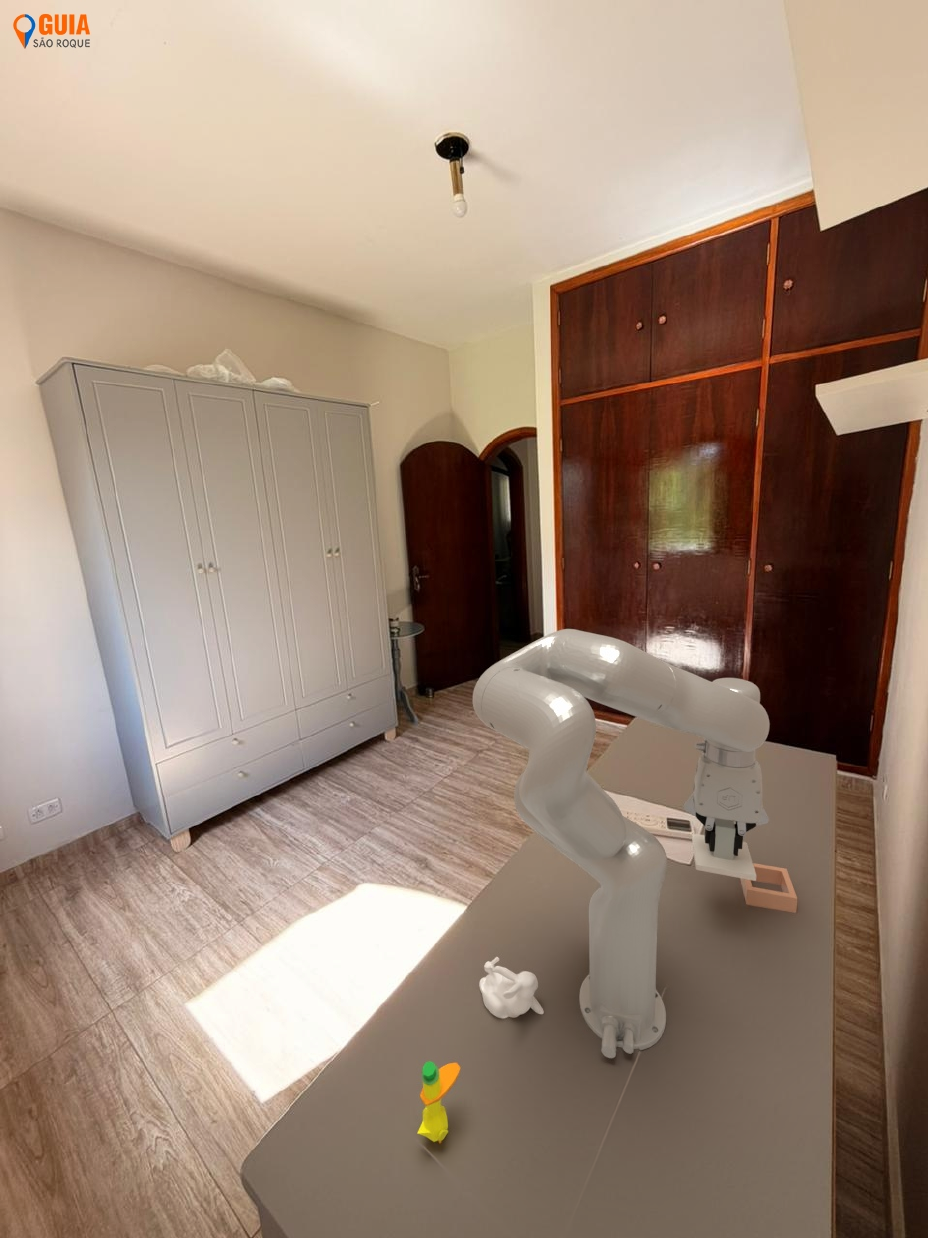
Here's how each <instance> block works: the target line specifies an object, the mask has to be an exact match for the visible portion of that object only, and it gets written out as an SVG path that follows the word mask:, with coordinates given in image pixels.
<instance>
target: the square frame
mask: <svg viewBox="0 0 928 1238" xmlns="http://www.w3.org/2000/svg"><path fill="white" fill-rule="evenodd" d="M753 866H754V869H755V873H756V881H755V882H759V883H765V884H773V885H779V886H780V887H781V891H778V890H772V889H766V888H761V887H755V886H753V884H752V881H753V880H748V879H743V878H739V880H740V885H741V888H742V891H743V897H744V900H745V901H744V902H745V905H746V906H753V907H758V908H764V909H769V910H777V911H781V912H782V911H783V912H789V913H795V914H797V910H798V909H797V905H798V896H797V894H796V891H795V888H794V885H793V883H792V880H791V877H790V874H789V871H788V869H787V868H786V867H785V868H784V867H778V866H773V865H772V866H771V865H766V864H760V863H755V862H754V863H753ZM753 882H754V881H753Z"/></svg>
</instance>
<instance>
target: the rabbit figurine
mask: <svg viewBox="0 0 928 1238" xmlns="http://www.w3.org/2000/svg"><path fill="white" fill-rule="evenodd" d="M499 961H500V958H499V957H498V956H496V957H494V959H492V960H491V961H489V960H488V961H486V962H485V963H484V966H483V969H484V971H485V972H486V973H488V974H487V975H486V976H484V977H481V979H480V980H479V983H478V985H479V990H480V992H481V995H482V1000H483V1004H484V1006H485V1008H486V1009H487V1010H488V1011H489V1013H490V1014H492V1016H494V1017H496V1018H498V1019H506V1018H509V1017H510V1018H512V1019H513V1018H517V1017H520V1015H524V1014H526V1013H527V1012H528V1011H529V1010H530V1009H531V1010H532V1011H533V1012H535V1013H536V1014H539V1015H544V1008H543V1007H542V1006H541V1004H540V1003H539V1001H538V1000H537V998H536V997H535V996H534V995H535V992H536V991H537V989H538V988H539V983H538V981H539V980H538V979H537V976H536V974H534V972H531V971H525V970H522V971H520V972H519V973H515V972H513V971H512V970H510V969H508V968H507V967H504V966H501V965H495V964H497V963H498V962H499Z"/></svg>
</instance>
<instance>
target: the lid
mask: <svg viewBox="0 0 928 1238" xmlns="http://www.w3.org/2000/svg"><path fill="white" fill-rule="evenodd" d="M734 824H735V821H730V820H723V819H717V818H715V819H714V828H715V834H716V838H715V851H713V852H711V851H710V849H709V844H707V843H705V834H699V833H692V834H691V839H692V840H691V843H692V849H693V858H694V863H695V864H694V865H695V870H696V871H701V872H706V873H711V874H716V875H722V876H727V877H732V878H737V879H738V878H739V879H740V878H743V879H748V880H751V881H752V880H753V882H757V881H756V873H755V869H754V866H753V862H754V861H753V860H752V855H751V853H750V850H749V845H748V843H747V841H743V844H742V849H738V856H734V854H733V850H734V837H735V825H734Z"/></svg>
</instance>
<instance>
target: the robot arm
mask: <svg viewBox="0 0 928 1238" xmlns="http://www.w3.org/2000/svg"><path fill="white" fill-rule="evenodd" d="M760 691H761V690H760V688H759V687H758V686H757V685H756V683H755V684H754V682H752V681H750V680H749V681H748V680H746V679H742V678H737V677H722V678H716V679H714V680H712V681H710V680H708V679H706V678H704V677H701V676H699V675H697V674H695V673H692V672H690V671H688V670H684V669H682V668H680V667H677V666H675V665H673V664H670V663H669V662H666V661H664V660H662V659H660V658H658V657H656V656H654V655H653V654H651V653H649V652H647V651H645V650H642V649H641V648H638V647H636V646H635V645H632V644H631V643H629V642H626V641H624V640H622V639H619V638H615V637H612V636H607V635H602V634H597V633H593V632H589V631H583V630H579V629H574V628H565V629H564V628H563V629H560V630H557V631H554V632H551V633H549V634H547V635H544V636H542V637H541V638H539V639H537V640H535V641H533V642H531V643H529V644H528V645H525V646H524V647H522V648H520V649H519V650H517V651H515V652H513V653H510V655H507V656H506V657H503V658H502V659H501V660H499V661H496V662H495V663H494V664H492V665H491V666H490V667H489V668H487V669H486V670H485V671H484V672H483V673H482V674H481V675H480V677H479V679H478V680H477V682H476V683H475V686H474V688H473V692H472V706H473V710H474V712H475V715H476V716H477V718H478V719H479V720H480V721H481V722H482V723H483V724H484V725H485V726H486V727H488V728H490V729H491V730H493V731H495V732H496V733H498V734H500V735H502V736H504V737H506V738H508V739H510V740H511V741H513V742H515V743H516V744H518V745H520V746H522V747H524V748H526V749H528V752H529V753H528V754H529V755H528V762H527V764H526V767H525V769H524V770H523V771H522V773H521V774H520V776H519V777H518V778H517V781H516V784H515V787H514V791H513V801H514V806H515V810H516V812H517V815H519V816H518V817H519V818H520V819H521V820H522V821H523V822H524V823H525V824H526V825H527V826H528V827H529V828H531V829H532V830H533V831H535V833H537V834H538V835H539V836H540V837H541V838H542V839H544V840H545V841H546V842H547V843H548V844H550V845H551V846H552V847H553V848H554V849H556V850H557V851H558V852H560V854H562V855H563V856H565V857H566V858H568V859H569V860H571V862H573V863H574V864H576V865H577V866H579V868H581V869H582V870H584V871H585V872H586V873H587V874H588V875H590V876H591V877H592V878H594V880H596V881H597V882H598V884H600V887H598V889H596V890H595V891H594V893H593V894H592V896H591V898H590V901H589V904H588V905H589V906H588V923H589V924H588V926H589V927H588V928H589V930H588V931H589V932H588V933H589V936H588V938H589V943H588V945H589V955H588V956H589V958H588V959H589V973H588V974H587V975H586V977H585V978H584V979H583V981H582V982H581V986H580V988H579V1007H580V1013H581V1014H582V1017H583V1019H584V1022H585V1023H586V1025H587V1026H588V1027H589V1029H591V1031H592V1032H593V1033H594V1034H595V1035H596V1036H597V1037H599V1038H600V1039H601V1054H602V1055H603V1056H604V1057H606V1058H608V1059H614V1058H615V1057H616V1055H617V1047H619V1048H622V1050H623V1051H624V1052H625V1053H627V1054H632V1053H634V1050H635V1049H636V1050H637V1049H639V1051H643V1050H646V1049H648V1048H651V1047H653V1046H654V1045H655V1044H657V1043H658V1042H659V1041H660V1039H661V1038H662V1036H663V1035H664V1032H665V1029H666V1024H667V1011H666V1006H665V1004H664V1000H663V998H662V996H661V995H660V993H659V991H658V990H657V988H656V987H657V986H656V984H657V980H656V979H657V950H658V949H657V948H658V947H657V943H658V914H659V913H658V912H659V911H658V910H659V903H660V896H661V891H662V888H663V884H664V881H665V877H666V874H667V873H666V872H667V868H668V867H667V866H668V856H667V853H666V850H665V848H664V846H663V844H662V843H661V841H660V840H659V839H658V838H657V837H656V836H655V835H654V834H653V833H652V832H650V831H649V830H648V829H646V828H645V827H643V826H641V825H640V824H638V823H637V822H635V821H634V820H632V819H630V818H628V817H626V816H624V815H623V813H622V810H621V809H620V807H619V806H618V804H617V803H616V802H615V800H614V799H613V797H611V796H610V794H609V793H607V792H606V790H604V789H603V788H602V787H601V786H600V784H599V783H597V781H596V780H595V779H594V778H593V777H592V776H591V775H590V774H589V772H588V771H587V770H588V769H587V768H588V763H589V760H590V756H591V753H592V751H593V750H592V749H593V746H594V743H595V738H596V733H597V725H596V724H597V721H596V716H595V713H594V710H593V709H592V706H591V705H590V702H589V701H588V700H591V701H594V702H596V703H598V704H601V705H604V706H607V707H609V708H612V709H614V710H617V711H620V712H623V713H624V714H625V713H626V714H628V715H631V716H633V717H636V718H639V719H642V720H644V721H647V722H649V723H652V724H655V725H658V726H661V727H664V728H666V729H670V730H674V731H676V732H677V731H678V732H681V733H684V734H685V733H686V734H690V735H692V736H697V737H699V738H702V739H703V740H702V741H701V740H700V741H695V750H696V751H698V750H699V751H701V752H700V755H699V758H698V762H697V765H696V768H695V769H696V770H695V776H694V784H693V791H692V793H691V794H689V796H688V798H687V800H686V801H685V802H684V804H683V809H684V811H685V812H686V813H688V814H690V815H691V816H694V817H695V818H696V819H697V820H698V821H699V822H700V823H701V824H702V825H703V826H704V835H705V843H707V844H709V849H710V851H711V852H713V851H715V838H716V834H715V828H714V819H715V818H717V819H723V820H730V821H733V822H734V825H735V837H734V850H733V854H734V856H738V849H742V844H743V842H744V836H746V835H747V832H749V831H751V830H753V829H755V827H757V826H762V825H765V824H766V825H767V824H769V822H770V818H769V816H768V814H767V812H766V810H765V809H764V806H763V775H762V768H761V764H760V763H759V761H758V760H757V759H756V753H757V752H756V751H757V749H759V748H761V746H763V744H764V743H765V742H766V740H767V738H768V735H769V732H770V719H769V715H768V712H767V711H766V708H764V707H763V705H762V704H761V703H760V702H761V692H760ZM587 699H588V700H587Z"/></svg>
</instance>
